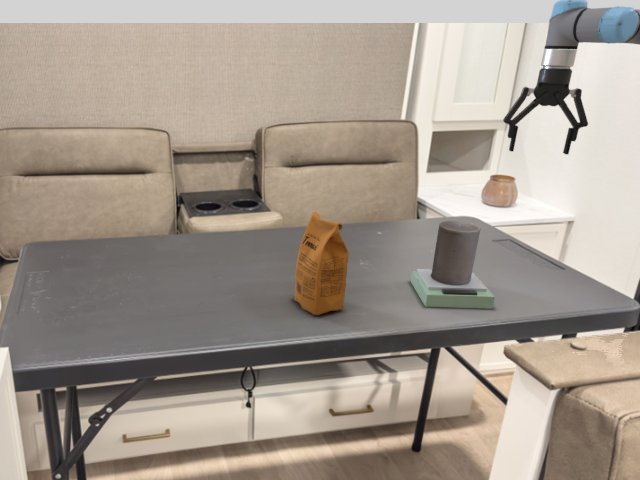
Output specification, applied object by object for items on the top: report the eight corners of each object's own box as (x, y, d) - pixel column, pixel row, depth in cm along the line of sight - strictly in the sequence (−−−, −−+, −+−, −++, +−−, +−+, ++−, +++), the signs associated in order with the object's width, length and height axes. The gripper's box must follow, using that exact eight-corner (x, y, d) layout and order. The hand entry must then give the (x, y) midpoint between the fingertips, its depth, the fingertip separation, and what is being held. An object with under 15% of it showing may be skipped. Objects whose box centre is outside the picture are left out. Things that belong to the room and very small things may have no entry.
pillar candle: (422, 276, 148) (431, 219, 142) (446, 268, 153) (455, 213, 147) (455, 288, 141) (466, 228, 135) (479, 280, 146) (490, 222, 140)
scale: (492, 308, 140) (495, 293, 138) (425, 306, 140) (427, 291, 139) (471, 283, 154) (474, 269, 153) (410, 281, 155) (412, 267, 153)
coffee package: (323, 292, 147) (330, 208, 138) (348, 312, 137) (357, 222, 128) (288, 298, 144) (292, 211, 135) (311, 318, 133) (317, 226, 125)
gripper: (606, 68, 149) (585, 152, 157) (502, 66, 155) (487, 147, 164) (615, 69, 142) (592, 157, 151) (506, 67, 148) (490, 151, 157)
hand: (538, 152), depth 157 cm, fingers open, 13 cm apart
